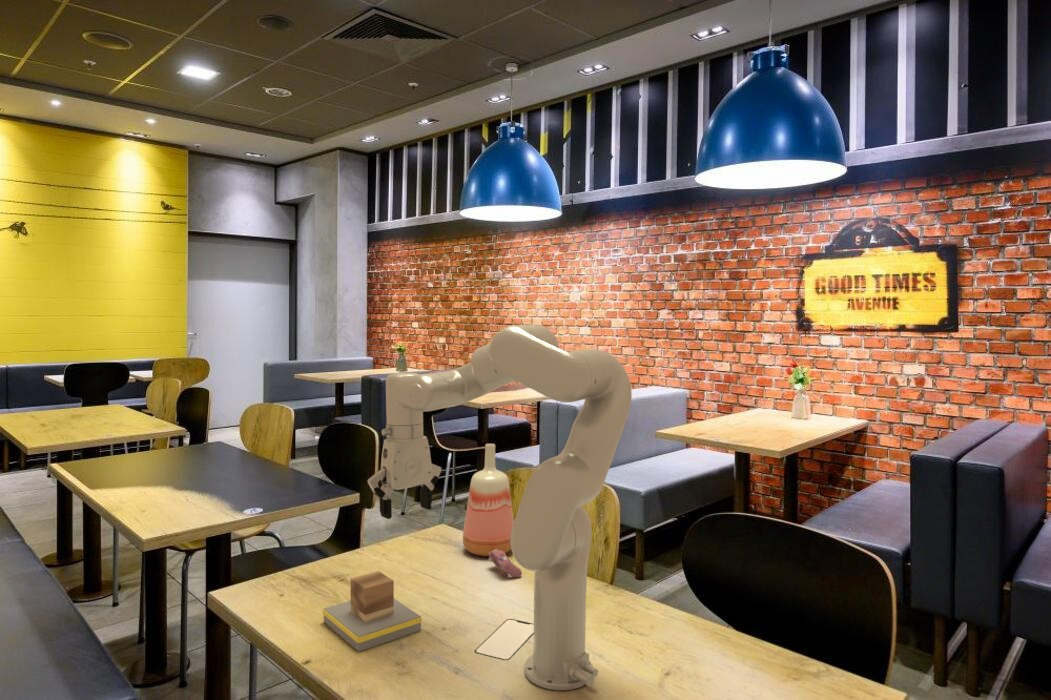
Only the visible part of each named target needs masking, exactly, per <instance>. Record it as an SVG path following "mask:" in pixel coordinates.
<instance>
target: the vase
mask: <svg viewBox="0 0 1051 700" xmlns="http://www.w3.org/2000/svg"><path fill="white" fill-rule="evenodd" d="M484 450H485V452H484V467H483V469H482V470H481V469H480V470H479V471H477V472H475V473H474V474H473V475H472V477H471V479H470V484H469V485H470V486H469V490H468V491H469V492H468V497H467V498H468V499H467V505H466V511H465V518H464V523H463V524H464V525H463V531H462V544H463V547H464V548H465V549H466V551H467V552H470V553H471V554H472V555H475V556H479V557H486V558H487V557H488V558H490V557H489V554H488V553H489V552H491V551H492V550H495V549H497V550H501V551H503V552H504V553H505V554H507V553H509V552H510V551H512V549H511V532H512V527H513V524H514V521H515V519H514V515H513V514H514V512H513V505H512V497H511V496H512V495H511V489H510V488H511V487H510V481H509V477H508V475H507V473H505V472H503V471H502V470H498V469H497V468H496V444H495V443H486V444H485V447H484Z"/></svg>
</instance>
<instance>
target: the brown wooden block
mask: <svg viewBox="0 0 1051 700" xmlns="http://www.w3.org/2000/svg"><path fill="white" fill-rule="evenodd" d="M394 583H395V582H394V580H393V579H392V578H391V577H389V576H387V575H386V574H384V573H382V572H381V571H375V572H371V573H370V572H369V573H367V574H363V575H360V576H359V575H358V576H355V577H351V578H350V601H351V612H352V613H354V614H355V615H356V616H357V617H359V618H360V619H361V620H363V621H364V622H368V621H371V620H374V619H377V618H381V617H384V616H387V615H390V614H393V613H394V599H395V598H394V595H395V594H394V593H395V592H394V591H395V590H394V589H395V587H394V586H395V585H394Z"/></svg>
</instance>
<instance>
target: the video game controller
mask: <svg viewBox="0 0 1051 700" xmlns="http://www.w3.org/2000/svg"><path fill="white" fill-rule="evenodd" d="M488 554H489V557H488V562H490V563H493V564H494V566H495V567H496V570H498V571H499V572H500V573H501V574H502V575H503V576H505V577H506V576H507V575H509V576H511V577H513V578H517V579H519V578H521V576H522V575H523V572H522V570H521V569H520V567H518V566H516V564H514V563H513V562H512V561H511V560H510V558H509V557H508V556H507V553H504V552H503V551H501V550H497V549H495V550H492V551H491V552H489V553H488Z"/></svg>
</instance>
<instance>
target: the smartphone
mask: <svg viewBox="0 0 1051 700" xmlns="http://www.w3.org/2000/svg"><path fill="white" fill-rule="evenodd" d="M532 636H534V622H532V623H531V622H528V621H523V620H519V619H513V618H507V619H506V620H505V621H503V622H502V624H500V625H499V626H498V628H496V629H495V630H494V631H493V632H492V633H491V634H490V635H489V636H488V637H487V638H486V639H485V640H484V641H483V642H482V643H481V644H479V645H478V647H477V648H476V649H475V650H473V651H474V653H475V654H477V655H482V656H485V657H489V658H493V659H497V660H501V661H509V660H511V659H512V658H513V657H514V656H515V655H516V653H518V651H519V650H521V648H522V647H523V646H524V645H526V643H527V642H528V641H529V639H531V638H532Z"/></svg>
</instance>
